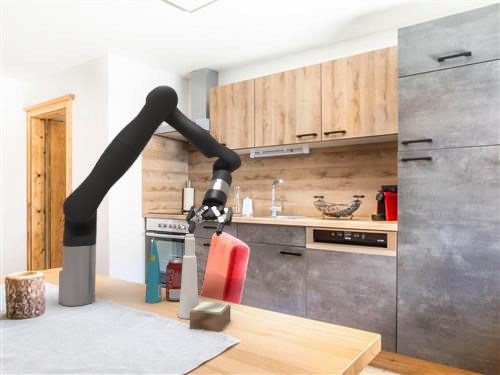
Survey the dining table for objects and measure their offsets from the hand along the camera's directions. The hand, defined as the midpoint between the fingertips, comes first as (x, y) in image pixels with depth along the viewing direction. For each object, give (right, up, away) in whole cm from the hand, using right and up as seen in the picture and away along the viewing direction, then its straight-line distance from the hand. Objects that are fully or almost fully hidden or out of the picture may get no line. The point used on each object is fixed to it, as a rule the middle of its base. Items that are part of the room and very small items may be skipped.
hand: (204, 233), depth 111 cm
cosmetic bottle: (-3, -21, -11) cm, 24 cm away
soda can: (-9, -21, +5) cm, 24 cm away
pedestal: (+4, -21, -18) cm, 28 cm away
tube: (-16, -21, +2) cm, 27 cm away
